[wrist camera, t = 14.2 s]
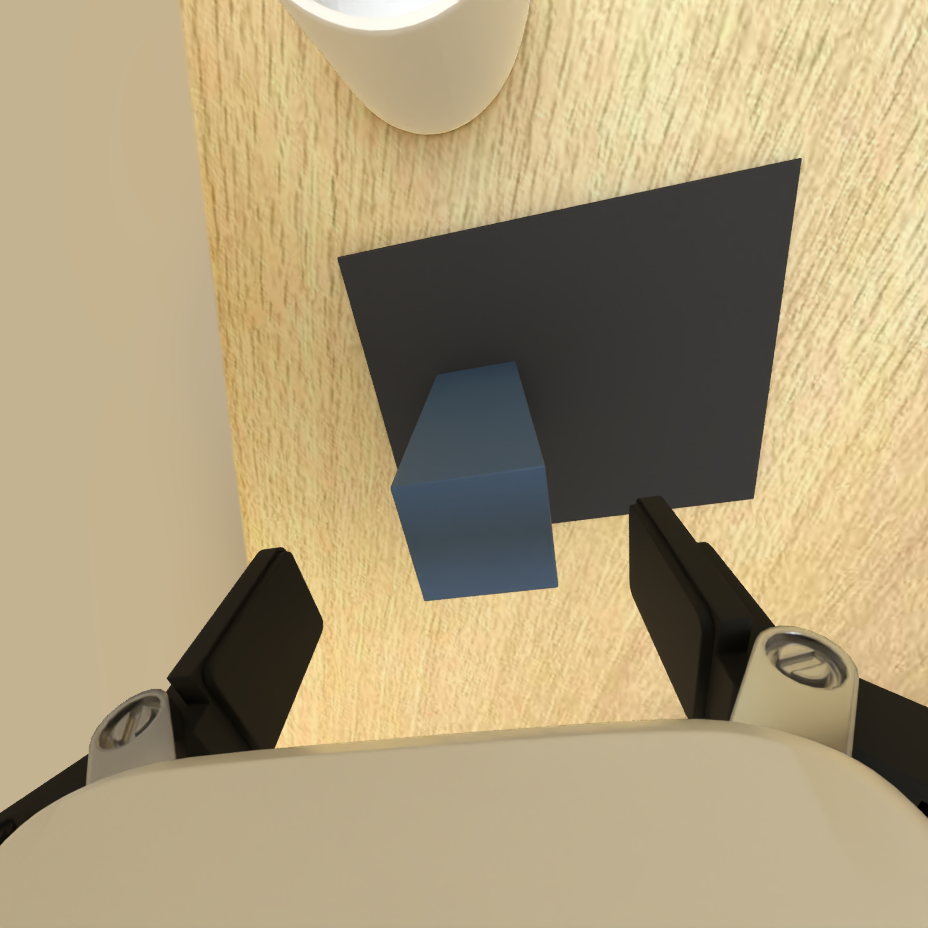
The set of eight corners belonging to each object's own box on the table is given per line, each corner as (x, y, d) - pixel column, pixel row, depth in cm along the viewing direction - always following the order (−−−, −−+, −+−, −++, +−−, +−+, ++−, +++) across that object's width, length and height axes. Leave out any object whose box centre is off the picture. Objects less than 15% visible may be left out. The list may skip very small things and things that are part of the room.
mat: (418, 536, 29) (417, 540, 29) (339, 257, 22) (336, 257, 21) (750, 495, 27) (753, 499, 26) (796, 159, 19) (802, 157, 19)
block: (452, 445, 26) (424, 601, 14) (436, 374, 24) (389, 487, 12) (524, 434, 25) (558, 588, 13) (515, 360, 23) (545, 465, 12)
